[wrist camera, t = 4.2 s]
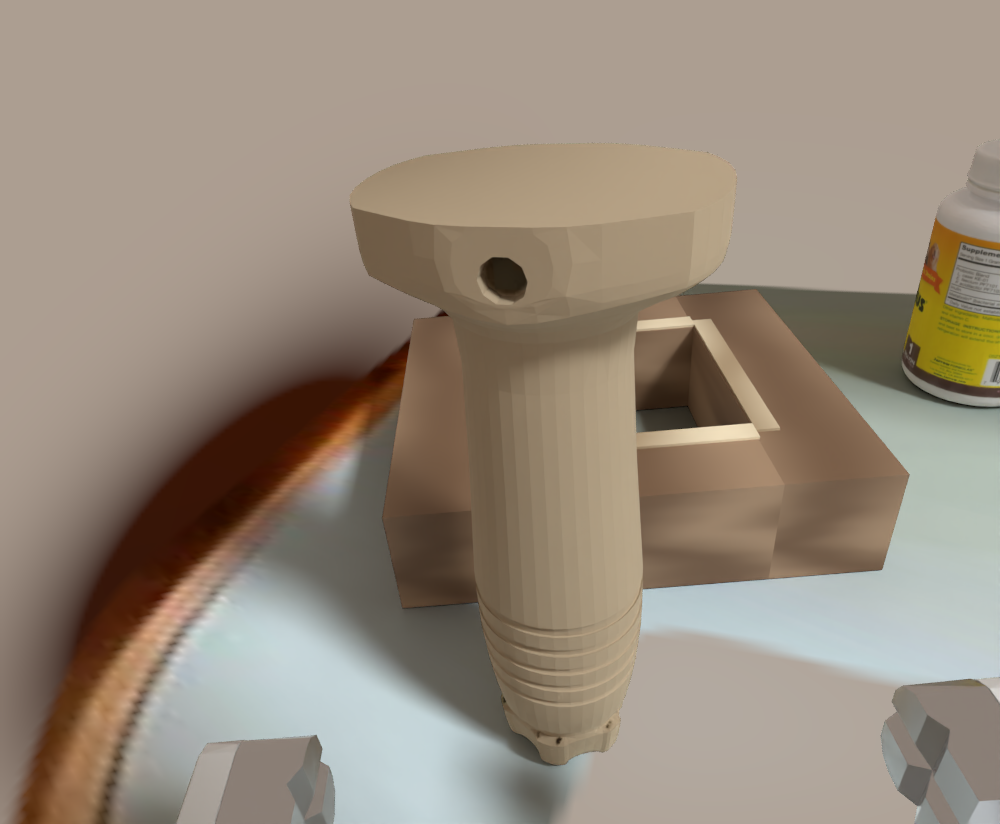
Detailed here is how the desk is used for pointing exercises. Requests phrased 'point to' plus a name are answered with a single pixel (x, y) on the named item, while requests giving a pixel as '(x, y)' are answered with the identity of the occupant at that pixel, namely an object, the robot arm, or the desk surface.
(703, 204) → the handle
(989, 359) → the supplement bottle
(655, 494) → the square wooden frame
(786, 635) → the desk surface
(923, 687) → the robot arm
